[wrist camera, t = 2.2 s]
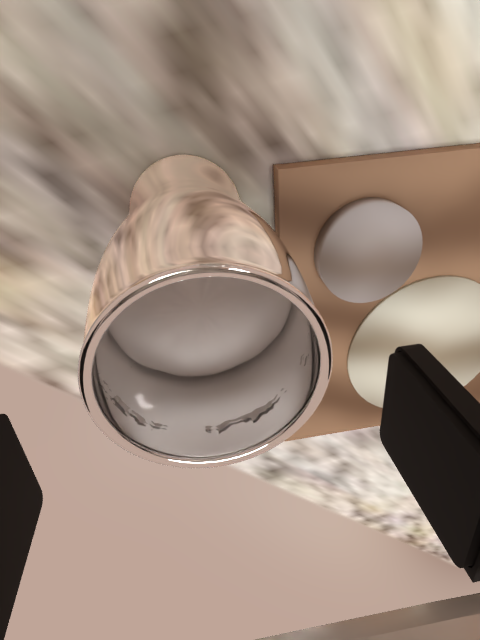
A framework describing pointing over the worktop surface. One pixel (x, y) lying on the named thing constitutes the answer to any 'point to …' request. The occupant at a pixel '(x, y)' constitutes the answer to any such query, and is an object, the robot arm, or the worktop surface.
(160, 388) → the beer glass
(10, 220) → the worktop surface
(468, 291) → the carrier plate
